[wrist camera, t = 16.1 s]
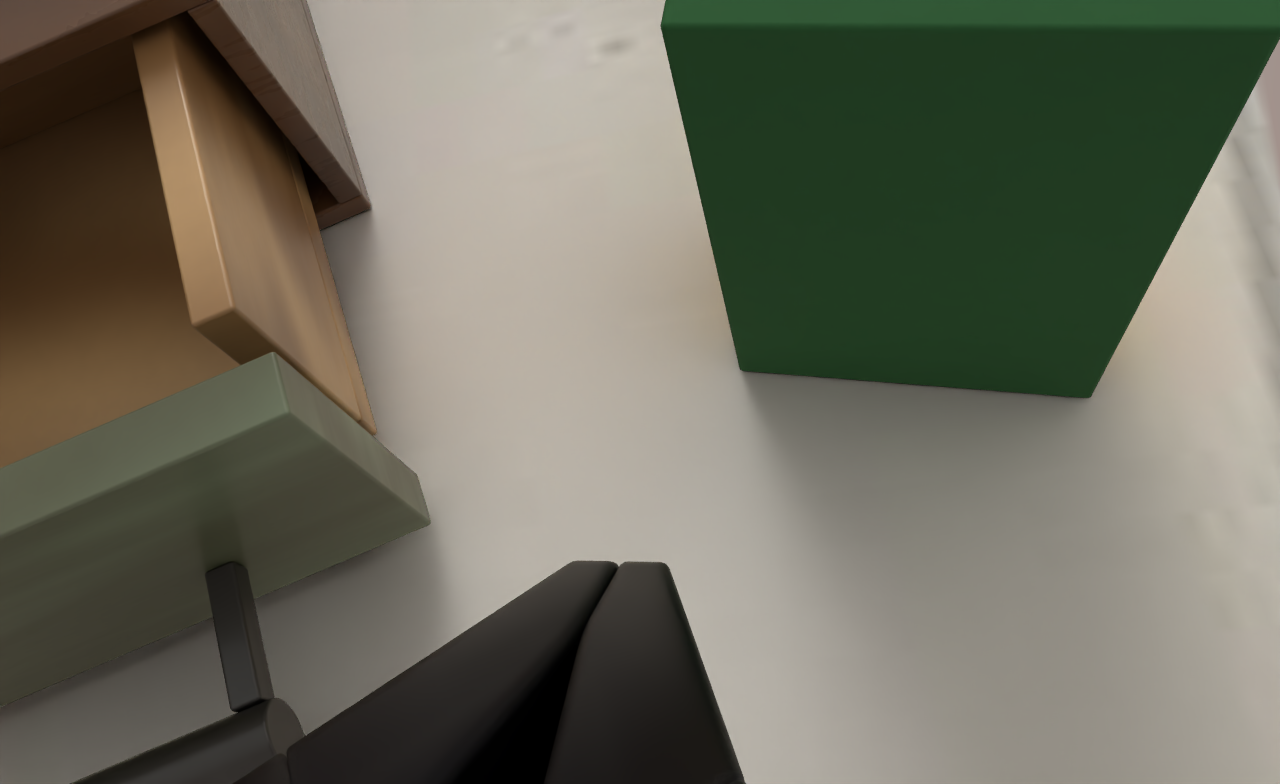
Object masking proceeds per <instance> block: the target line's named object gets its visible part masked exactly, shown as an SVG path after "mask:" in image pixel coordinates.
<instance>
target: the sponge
mask: <svg viewBox="0 0 1280 784" xmlns="http://www.w3.org/2000/svg"><path fill="white" fill-rule="evenodd" d="M661 30H662V34H663V38H664V43H665V47H666V51H667V56H668V60H669V64H670V69H671V73H672V77H673V82H674V86H675V90H676V95H677V99H678V103H679V108H680V112H681V116H682V121H683V125H684V129H685V134H686V138H687V142H688V147H689V151H690V155H691V160H692V164H693V168H694V173H695V177H696V181H697V186H698V190H699V194H700V198H701V203H702V207H703V211H704V216H705V220H706V224H707V229H708V233H709V237H710V242H711V246H712V250H713V255H714V259H715V263H716V268H717V272H718V276H719V281H720V285H721V289H722V294H723V298H724V302H725V307H726V311H727V315H728V320H729V324H730V328H731V333H732V337H733V341H734V346H735V350H736V354H737V358H738V363H739V367H740V370H742V371H752V372H765V373H777V374H790V375H803V376H815V377H828V378H841V379H853V380H866V381H879V382H891V383H904V384H917V385H929V386H942V387H955V388H967V389H980V390H993V391H1005V392H1018V393H1031V394H1043V395H1056V396H1069V397H1081V398H1089V397H1091V395H1092V393H1093V391H1094V390H1095V388H1096V386H1097V384H1098V382H1099V380H1100V378H1101V376H1102V374H1103V372H1104V371H1105V369H1106V367H1107V365H1108V363H1109V361H1110V359H1111V357H1112V355H1113V354H1114V352H1115V350H1116V348H1117V346H1118V344H1119V342H1120V340H1121V338H1122V336H1123V335H1124V333H1125V331H1126V329H1127V327H1128V325H1129V323H1130V321H1131V319H1132V318H1133V316H1134V314H1135V312H1136V310H1137V308H1138V306H1139V304H1140V302H1141V301H1142V299H1143V297H1144V295H1145V293H1146V291H1147V289H1148V287H1149V285H1150V283H1151V282H1152V280H1153V278H1154V276H1155V274H1156V272H1157V270H1158V268H1159V266H1160V265H1161V263H1162V261H1163V259H1164V257H1165V255H1166V253H1167V251H1168V249H1169V247H1170V246H1171V244H1172V242H1173V240H1174V238H1175V236H1176V234H1177V232H1178V230H1179V229H1180V227H1181V225H1182V223H1183V221H1184V219H1185V217H1186V215H1187V213H1188V211H1189V210H1190V208H1191V206H1192V204H1193V202H1194V200H1195V198H1196V196H1197V194H1198V193H1199V191H1200V189H1201V187H1202V185H1203V183H1204V181H1205V179H1206V177H1207V175H1208V174H1209V172H1210V170H1211V168H1212V166H1213V164H1214V162H1215V160H1216V158H1217V157H1218V155H1219V153H1220V151H1221V149H1222V147H1223V145H1224V143H1225V141H1226V139H1227V138H1228V136H1229V134H1230V132H1231V130H1232V128H1233V126H1234V124H1235V122H1236V121H1237V119H1238V117H1239V115H1240V113H1241V111H1242V109H1243V107H1244V105H1245V103H1246V102H1247V100H1248V98H1249V96H1250V94H1251V92H1252V90H1253V88H1254V86H1255V85H1256V83H1257V81H1258V79H1259V77H1260V75H1261V73H1262V71H1263V69H1264V67H1265V66H1266V64H1267V61H1268V60H1269V58H1270V56H1271V54H1272V52H1273V50H1274V49H1275V47H1276V45H1277V43H1278V41H1279V39H1280V0H666V1H665V6H664V11H663V17H662V22H661Z"/></svg>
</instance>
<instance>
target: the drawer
mask: <svg viewBox="0 0 1280 784" xmlns="http://www.w3.org/2000/svg"><path fill="white" fill-rule="evenodd" d="M376 433H377V430H376V426H375V423H374V419H373V416H372V412H371V409H370V405H369V402H368V398H367V395H366V391H365V388H364V384H363V381H362V377H361V374H360V370H359V367H358V363H357V360H356V356H355V353H354V349H353V346H352V342H351V339H350V335H349V332H348V328H347V325H346V321H345V318H344V314H343V311H342V307H341V304H340V300H339V297H338V293H337V290H336V286H335V283H334V279H333V276H332V272H331V269H330V265H329V262H328V258H327V255H326V251H325V248H324V244H323V241H322V237H321V234H320V230H319V227H318V223H317V220H316V216H315V213H314V209H313V206H312V202H311V199H310V195H309V192H308V188H307V185H306V181H305V178H304V174H303V171H302V167H301V164H300V160H299V157H298V153H297V150H296V148H295V147H294V146H293V144H292V143H291V142H290V141H289V139H288V138H287V137H286V136H285V134H284V133H283V132H282V131H281V129H280V128H279V127H278V126H277V124H276V123H275V122H274V121H273V119H272V118H271V117H270V115H269V114H268V113H267V112H266V110H265V109H264V108H263V107H262V105H261V104H260V103H259V102H258V100H257V99H256V98H255V97H254V95H253V94H252V93H251V92H250V90H249V89H248V88H247V86H246V85H245V84H244V83H243V81H242V80H241V79H240V78H239V76H238V75H237V74H236V73H235V71H234V70H233V69H232V68H231V66H230V65H229V64H228V62H227V61H226V60H225V59H224V57H223V56H222V55H221V54H220V52H219V51H218V50H217V49H216V47H215V46H214V45H213V44H212V42H211V41H210V40H209V39H208V37H207V36H206V35H205V33H204V32H203V31H202V30H201V28H200V27H199V26H198V25H197V23H196V22H195V21H194V20H193V18H192V17H191V16H190V15H189V13H188V11H185V12H183V13H180V14H178V15H176V16H173V17H171V18H169V19H166V20H164V21H162V22H160V23H157V24H155V25H153V26H150V27H148V28H146V29H143V30H141V31H139V32H137V33H134V34H132V35H130V36H127V37H125V38H123V39H120V40H118V41H116V42H113V43H111V44H109V45H107V46H104V47H102V48H100V49H97V50H95V51H93V52H90V53H88V54H86V55H84V56H81V57H79V58H77V59H74V60H72V61H70V62H67V63H65V64H63V65H60V66H58V67H56V68H54V69H51V70H49V71H47V72H44V73H42V74H40V75H37V76H35V77H33V78H31V79H28V80H26V81H24V82H21V83H19V84H17V85H14V86H12V87H10V88H7V89H5V90H3V91H1V92H0V707H2V706H4V705H6V704H9V703H11V702H13V701H16V700H18V699H20V698H23V697H25V696H27V695H30V694H32V693H35V692H37V691H39V690H42V689H44V688H46V687H49V686H51V685H53V684H56V683H58V682H60V681H63V680H65V679H67V678H70V677H72V676H75V675H77V674H79V673H82V672H84V671H86V670H89V669H91V668H93V667H96V666H98V665H100V664H103V663H105V662H108V661H110V660H112V659H115V658H117V657H119V656H122V655H124V654H126V653H129V652H131V651H133V650H136V649H138V648H140V647H143V646H145V645H148V644H150V643H152V642H155V641H157V640H159V639H162V638H164V637H166V636H169V635H171V634H173V633H176V632H178V631H180V630H183V629H185V628H188V627H190V626H192V625H195V624H197V623H199V622H202V621H204V620H206V619H209V618H211V617H213V620H214V626H215V631H216V636H217V641H218V646H219V652H220V657H221V662H222V667H223V673H224V678H225V683H226V688H227V693H228V699H229V704H230V708H231V710H232V711H233V712H238V713H236V714H233V715H231V716H229V717H226V718H224V719H222V720H219V721H217V722H214V723H212V724H210V725H207V726H205V727H203V728H200V729H198V730H196V731H193V732H191V733H189V734H186V735H184V736H181V737H179V738H177V739H174V740H172V741H170V742H167V743H165V744H163V745H160V746H158V747H155V748H153V749H151V750H148V751H146V752H144V753H141V754H139V755H137V756H134V757H132V758H129V759H127V760H125V761H122V762H120V763H118V764H115V765H113V766H111V767H108V768H106V769H103V770H101V771H99V772H96V773H94V774H92V775H89V776H87V777H85V778H82V779H80V780H77V781H75V782H73V783H70V784H232V783H234V782H236V781H237V780H239V779H240V778H242V777H243V776H245V775H247V774H248V773H250V772H251V771H253V770H254V769H256V768H257V767H259V766H260V765H262V764H263V763H265V762H266V761H268V760H269V759H271V758H272V757H274V756H275V755H277V754H279V753H283V754H285V755H286V751H287V749H288V748H289V747H290V746H291V745H293V744H294V743H296V742H297V741H299V740H300V739H302V738H303V737H304V734H303V730H302V728H301V725H300V723H299V720H298V718H297V716H296V715H295V713H294V711H293V710H292V709H291V707H290V706H289V705H288V704H287V703H286V702H285V701H283V700H282V699H279V698H275V697H274V693H273V688H272V683H271V678H270V674H269V669H268V664H267V660H266V655H265V650H264V645H263V641H262V636H261V631H260V626H259V622H258V617H257V612H256V607H255V603H254V599H256V598H258V597H261V596H263V595H265V594H268V593H270V592H272V591H275V590H277V589H279V588H282V587H284V586H286V585H289V584H291V583H293V582H296V581H298V580H301V579H303V578H305V577H308V576H310V575H312V574H315V573H317V572H319V571H322V570H324V569H326V568H329V567H331V566H333V565H336V564H338V563H341V562H343V561H345V560H348V559H350V558H352V557H355V556H357V555H359V554H362V553H364V552H366V551H369V550H371V549H373V548H376V547H378V546H381V545H383V544H385V543H388V542H390V541H392V540H395V539H397V538H399V537H402V536H404V535H406V534H409V533H411V532H414V531H416V530H418V529H421V528H423V527H425V526H428V525H430V524H431V520H430V516H429V513H428V510H427V506H426V503H425V500H424V496H423V493H422V490H421V486H420V483H419V480H418V476H417V475H416V473H414V472H413V471H412V470H411V469H410V468H409V467H407V466H406V465H405V464H404V463H403V462H402V461H400V460H399V459H398V458H397V457H396V456H395V455H394V454H392V453H391V452H390V451H389V450H388V449H387V448H385V447H384V446H383V445H382V444H381V443H380V442H378V441H377V440H376V439H375V438H374V437H373V435H375V434H376ZM286 757H287V755H286Z"/></svg>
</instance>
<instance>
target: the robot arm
mask: <svg viewBox="0 0 1280 784" xmlns="http://www.w3.org/2000/svg"><path fill="white" fill-rule="evenodd" d="M286 755H287V757H286ZM286 755H285V754H283V753H279V754H277V755H275V756H274V757H272V758H271V759H269V760H268V761H266V762H265V763H263V764H262V765H260V766H259V767H257V768H256V769H254V770H253V771H251V772H250V773H248V774H247V775H245V776H243V777H242V778H240V779H239V780H237V781H236V782H234V783H232V784H746V783H745V782H744V777H743V774H742V771H741V769H740V766H739V763H738V760H737V757H736V754H735V752H734V749H733V746H732V743H731V740H730V738H729V735H728V732H727V729H726V726H725V724H724V721H723V718H722V715H721V712H720V709H719V707H718V704H717V701H716V698H715V695H714V693H713V690H712V687H711V684H710V681H709V679H708V676H707V673H706V670H705V667H704V664H703V662H702V659H701V656H700V653H699V650H698V648H697V645H696V642H695V639H694V636H693V633H692V631H691V628H690V625H689V622H688V619H687V617H686V614H685V611H684V608H683V605H682V603H681V600H680V597H679V594H678V591H677V588H676V586H675V583H674V580H673V577H672V574H671V572H670V569H669V567H668V566H667V565H666V564H665V563H662V562H624V563H623V564H621V565H620V566H618V565H617V564H616V563H614V562H610V561H573V562H571V563H569V564H567V565H566V566H564V567H563V568H561V569H560V570H558V571H557V572H555V573H554V574H552V575H550V576H549V577H547V578H546V579H544V580H543V581H541V582H540V583H538V584H537V585H535V586H534V587H532V588H531V589H529V590H528V591H526V592H525V593H523V594H522V595H520V596H518V597H517V598H515V599H514V600H512V601H511V602H509V603H508V604H506V605H505V606H503V607H502V608H500V609H499V610H497V611H496V612H494V613H493V614H491V615H489V616H488V617H486V618H485V619H483V620H482V621H480V622H479V623H477V624H476V625H474V626H473V627H471V628H470V629H468V630H467V631H465V632H464V633H462V634H461V635H459V636H457V637H456V638H454V639H453V640H451V641H450V642H448V643H447V644H445V645H444V646H442V647H441V648H439V649H438V650H436V651H435V652H433V653H432V654H430V655H429V656H427V657H425V658H424V659H422V660H421V661H419V662H418V663H416V664H415V665H413V666H412V667H410V668H409V669H407V670H406V671H404V672H403V673H401V674H400V675H398V676H396V677H395V678H393V679H392V680H390V681H389V682H387V683H386V684H384V685H383V686H381V687H380V688H378V689H377V690H375V691H374V692H372V693H370V694H369V695H367V696H366V697H364V698H363V699H361V700H360V701H358V702H357V703H355V704H354V705H352V706H351V707H349V708H348V709H346V710H344V711H343V712H341V713H340V714H338V715H337V716H335V717H334V718H332V719H331V720H329V721H328V722H326V723H325V724H323V725H322V726H320V727H319V728H317V729H315V730H314V731H312V732H311V733H309V734H308V735H306V736H305V737H303V738H302V739H300V740H299V741H297V742H296V743H294V744H293V745H291V746H290V747H289V748H288V749H287V751H286Z"/></svg>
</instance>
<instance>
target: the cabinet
mask: <svg viewBox="0 0 1280 784" xmlns="http://www.w3.org/2000/svg"><path fill="white" fill-rule="evenodd" d="M185 11H188V13H189V15H190V16H191V17H192V18H193V20H194V21H195V22H196V23H197V25H198V26H199V27H200V28H201V30H202V31H203V32H204V33H205V35H206V36H207V37H208V39H209V40H210V41H211V42H212V44H213V45H214V46H215V47H216V49H217V50H218V51H219V52H220V54H221V55H222V56H223V57H224V59H225V60H226V61H227V62H228V64H229V65H230V66H231V68H232V69H233V70H234V71H235V73H236V74H237V75H238V76H239V78H240V79H241V80H242V81H243V83H244V84H245V85H246V86H247V88H248V89H249V90H250V92H251V93H252V94H253V95H254V97H255V98H256V99H257V100H258V102H259V103H260V104H261V105H262V107H263V108H264V109H265V110H266V112H267V113H268V114H269V115H270V117H271V118H272V119H273V121H274V122H275V123H276V124H277V126H278V127H279V128H280V129H281V131H282V132H283V133H284V134H285V136H286V137H287V138H288V139H289V141H290V142H291V143H292V144H293V146H294V147H295V148H296V150H297V153H298V157H299V160H300V164H301V167H302V171H303V174H304V178H305V181H306V185H307V188H308V192H309V195H310V199H311V202H312V206H313V209H314V213H315V216H316V220H317V223H318V227H319V230H321V229H323V228H326V227H328V226H330V225H333V224H335V223H337V222H340V221H342V220H344V219H347V218H349V217H351V216H354V215H356V214H358V213H361V212H363V211H365V210H368V209H370V208H371V204H370V201H369V198H368V194H367V191H366V188H365V185H364V182H363V179H362V176H361V172H360V169H359V166H358V163H357V160H356V157H355V153H354V150H353V147H352V144H351V141H350V138H349V134H348V131H347V128H346V125H345V122H344V119H343V116H342V112H341V109H340V106H339V103H338V100H337V97H336V93H335V90H334V87H333V84H332V81H331V78H330V74H329V71H328V68H327V65H326V62H325V59H324V56H323V52H322V49H321V46H320V43H319V40H318V37H317V33H316V30H315V27H314V24H313V21H312V18H311V14H310V11H309V8H308V5H307V2H306V0H0V92H1V91H3V90H5V89H7V88H10V87H12V86H14V85H17V84H19V83H21V82H24V81H26V80H28V79H31V78H33V77H35V76H37V75H40V74H42V73H44V72H47V71H49V70H51V69H54V68H56V67H58V66H60V65H63V64H65V63H67V62H70V61H72V60H74V59H77V58H79V57H81V56H84V55H86V54H88V53H90V52H93V51H95V50H97V49H100V48H102V47H104V46H107V45H109V44H111V43H113V42H116V41H118V40H120V39H123V38H125V37H127V36H130V35H132V34H134V33H137V32H139V31H141V30H143V29H146V28H148V27H150V26H153V25H155V24H157V23H160V22H162V21H164V20H166V19H169V18H171V17H173V16H176V15H178V14H180V13H183V12H185Z"/></svg>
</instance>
